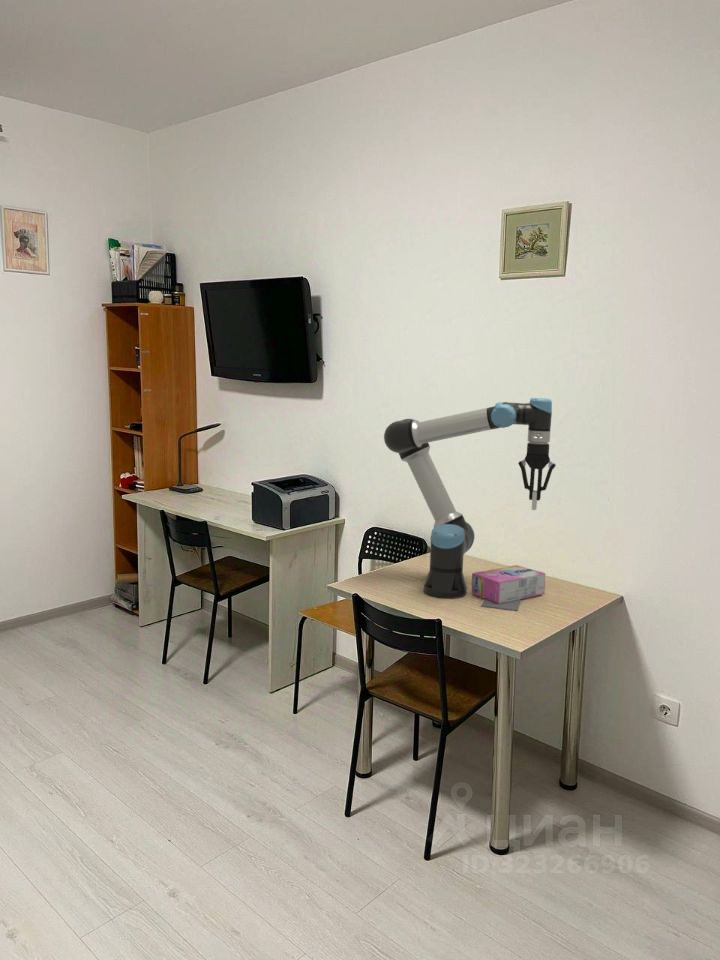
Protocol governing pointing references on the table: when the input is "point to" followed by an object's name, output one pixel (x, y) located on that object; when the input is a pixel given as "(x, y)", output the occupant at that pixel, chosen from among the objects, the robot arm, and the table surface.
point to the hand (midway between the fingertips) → (534, 509)
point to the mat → (502, 605)
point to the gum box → (508, 584)
